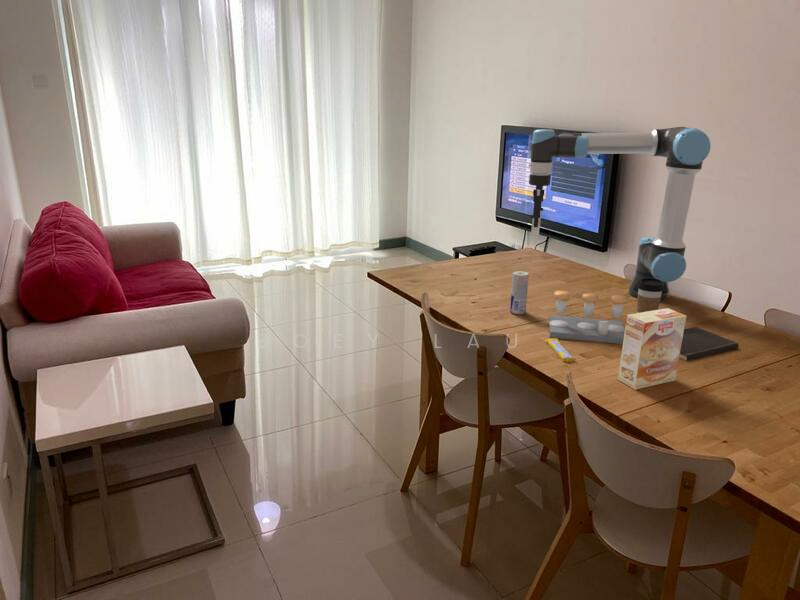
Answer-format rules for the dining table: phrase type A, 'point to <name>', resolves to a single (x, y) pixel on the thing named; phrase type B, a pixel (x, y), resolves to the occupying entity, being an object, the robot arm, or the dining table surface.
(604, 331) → the pot dial
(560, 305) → the knob far
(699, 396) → the dining table surface
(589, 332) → the mount board
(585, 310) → the knob middle
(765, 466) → the dining table surface
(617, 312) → the knob near
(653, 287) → the coffee cup
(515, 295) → the beverage can
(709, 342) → the hardcover book
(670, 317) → the coffeecake box
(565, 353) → the candy bar
